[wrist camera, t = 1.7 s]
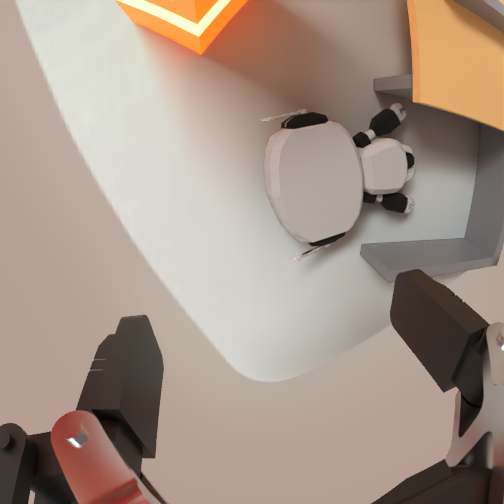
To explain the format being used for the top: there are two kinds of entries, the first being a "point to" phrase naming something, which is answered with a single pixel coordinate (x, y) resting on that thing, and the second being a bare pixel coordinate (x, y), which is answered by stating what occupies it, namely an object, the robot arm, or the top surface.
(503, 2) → the lid
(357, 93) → the top surface
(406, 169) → the robot toy
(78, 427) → the robot arm
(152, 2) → the orange juice
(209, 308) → the top surface
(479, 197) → the box
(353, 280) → the top surface
